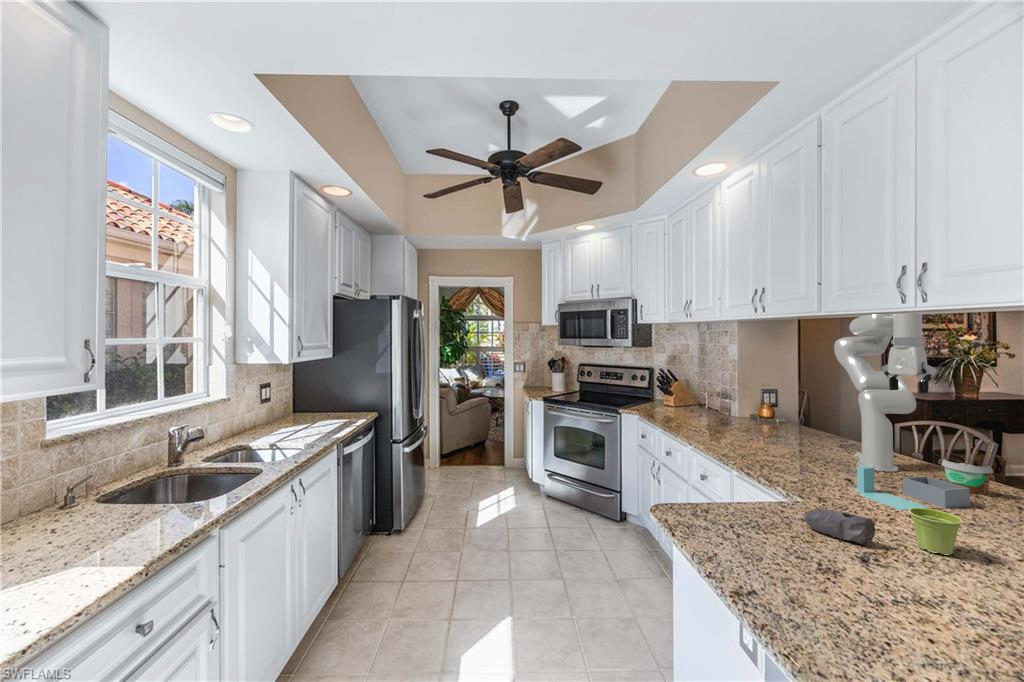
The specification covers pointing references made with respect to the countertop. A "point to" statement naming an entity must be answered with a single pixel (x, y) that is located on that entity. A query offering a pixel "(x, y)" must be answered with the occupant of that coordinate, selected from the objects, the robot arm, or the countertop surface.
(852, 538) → the perforated stone tool
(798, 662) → the countertop surface
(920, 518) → the plant pot
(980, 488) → the food container
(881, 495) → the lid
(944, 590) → the countertop surface
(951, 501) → the tub
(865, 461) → the robot arm
